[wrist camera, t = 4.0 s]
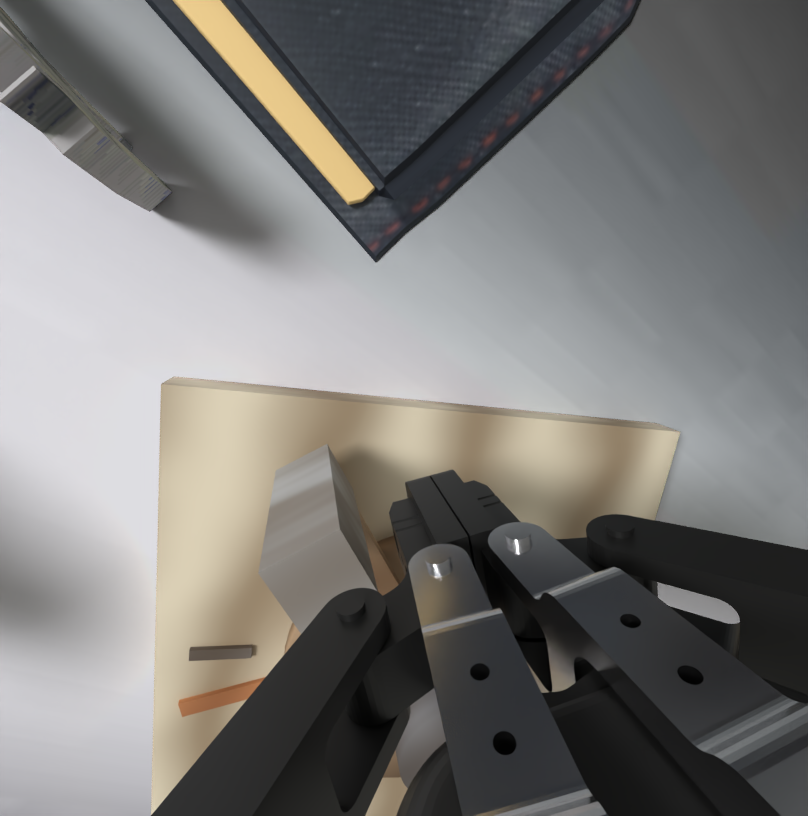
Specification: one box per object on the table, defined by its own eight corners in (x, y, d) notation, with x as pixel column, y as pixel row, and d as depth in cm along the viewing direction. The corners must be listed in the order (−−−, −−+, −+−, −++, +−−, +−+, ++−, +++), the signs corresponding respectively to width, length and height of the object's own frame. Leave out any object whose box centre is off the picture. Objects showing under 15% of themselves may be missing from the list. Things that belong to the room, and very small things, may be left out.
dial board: (655, 423, 22) (683, 433, 20) (559, 771, 27) (576, 801, 25) (173, 376, 17) (159, 385, 15) (160, 821, 21) (148, 864, 20)
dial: (573, 670, 22) (688, 830, 15) (361, 797, 21) (387, 1025, 14) (442, 374, 17) (532, 425, 10) (151, 525, 16) (41, 690, 9)
